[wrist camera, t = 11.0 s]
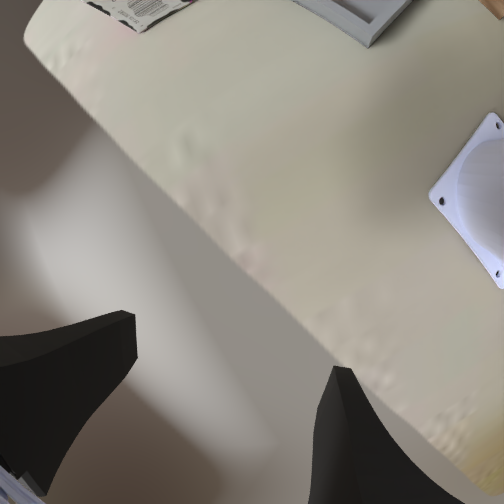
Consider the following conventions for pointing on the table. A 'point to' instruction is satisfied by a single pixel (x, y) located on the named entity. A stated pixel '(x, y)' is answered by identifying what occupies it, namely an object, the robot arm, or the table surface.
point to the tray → (358, 15)
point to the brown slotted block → (495, 7)
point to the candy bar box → (138, 11)
